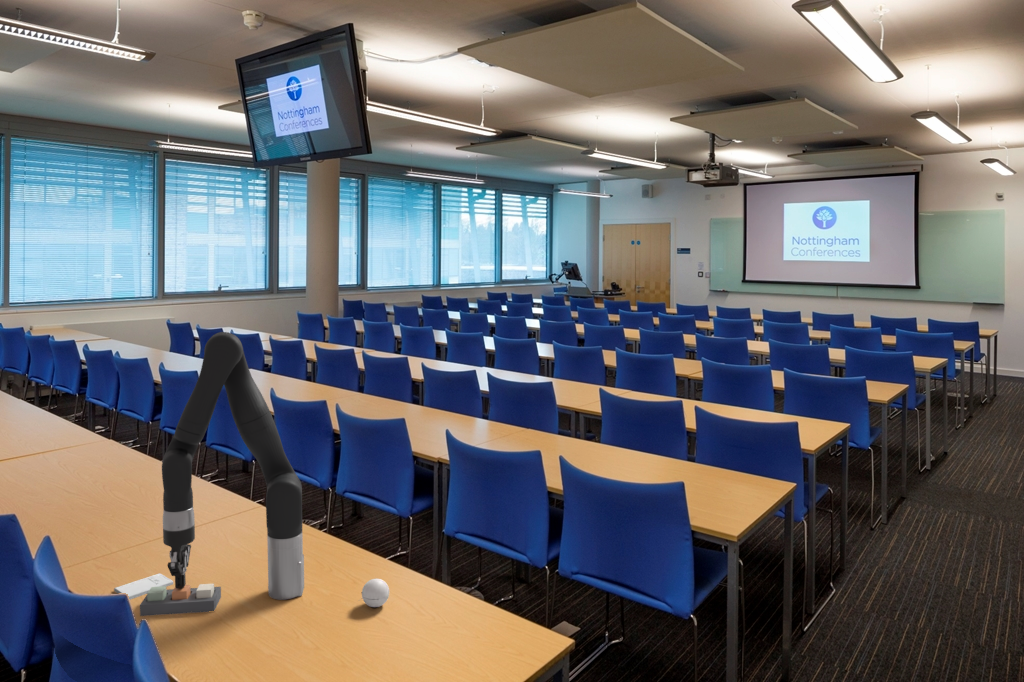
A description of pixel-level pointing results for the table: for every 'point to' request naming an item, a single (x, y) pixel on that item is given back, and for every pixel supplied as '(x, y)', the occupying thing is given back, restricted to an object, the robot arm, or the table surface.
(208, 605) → the keypad
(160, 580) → the external hard drive
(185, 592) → the terracotta button
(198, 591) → the cream button
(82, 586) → the table surface
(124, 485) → the table surface
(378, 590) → the white ovoid
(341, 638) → the table surface
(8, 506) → the table surface
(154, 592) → the sage button
